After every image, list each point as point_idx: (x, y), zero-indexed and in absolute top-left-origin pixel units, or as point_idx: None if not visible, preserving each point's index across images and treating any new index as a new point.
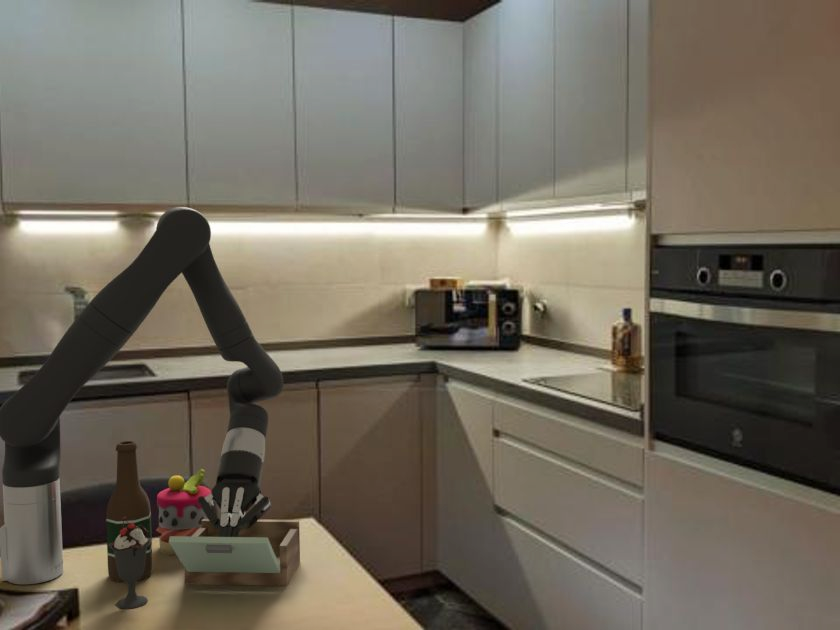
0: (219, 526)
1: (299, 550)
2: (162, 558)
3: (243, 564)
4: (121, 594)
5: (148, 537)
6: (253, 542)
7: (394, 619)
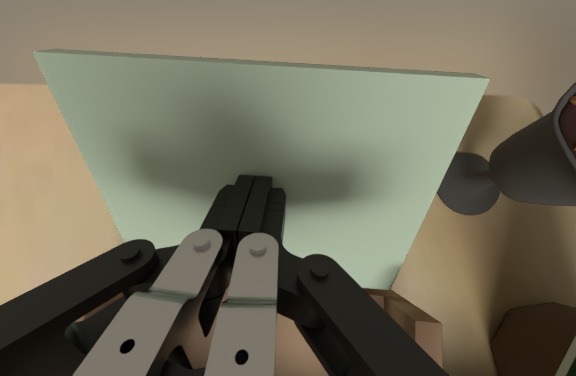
0: (285, 252)
1: None
2: None
3: None
4: (509, 230)
5: None
6: (106, 52)
7: None
